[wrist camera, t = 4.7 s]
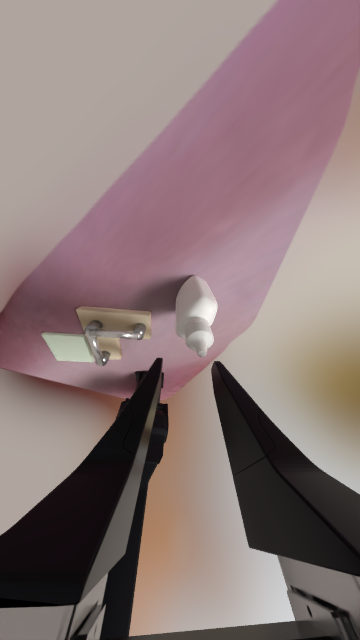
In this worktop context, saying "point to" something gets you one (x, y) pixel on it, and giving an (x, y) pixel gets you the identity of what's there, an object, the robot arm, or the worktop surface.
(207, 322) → the eye dropper bottle
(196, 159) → the worktop surface
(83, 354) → the pad
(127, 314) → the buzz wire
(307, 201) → the worktop surface
